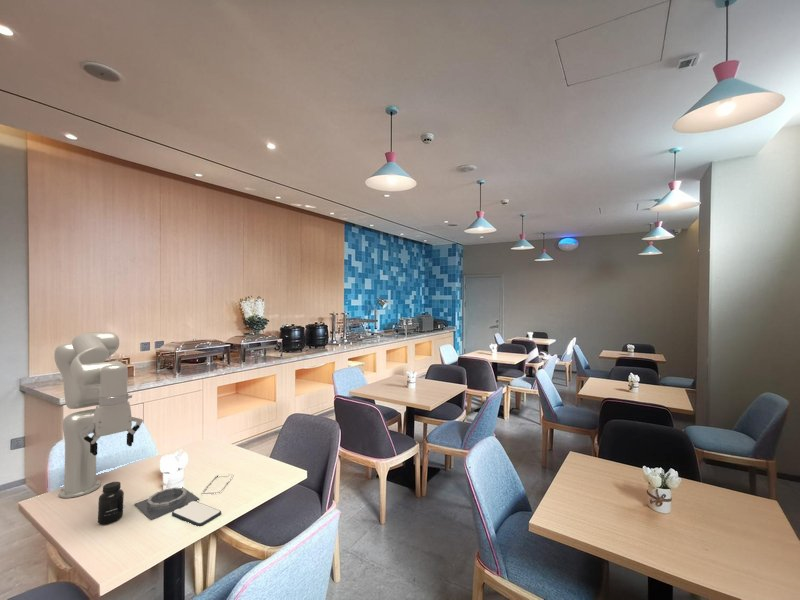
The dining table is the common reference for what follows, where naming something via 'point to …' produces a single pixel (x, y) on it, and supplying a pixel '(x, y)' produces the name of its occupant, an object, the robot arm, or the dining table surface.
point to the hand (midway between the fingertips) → (112, 449)
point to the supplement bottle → (110, 503)
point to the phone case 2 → (215, 492)
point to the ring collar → (165, 502)
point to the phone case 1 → (196, 513)
